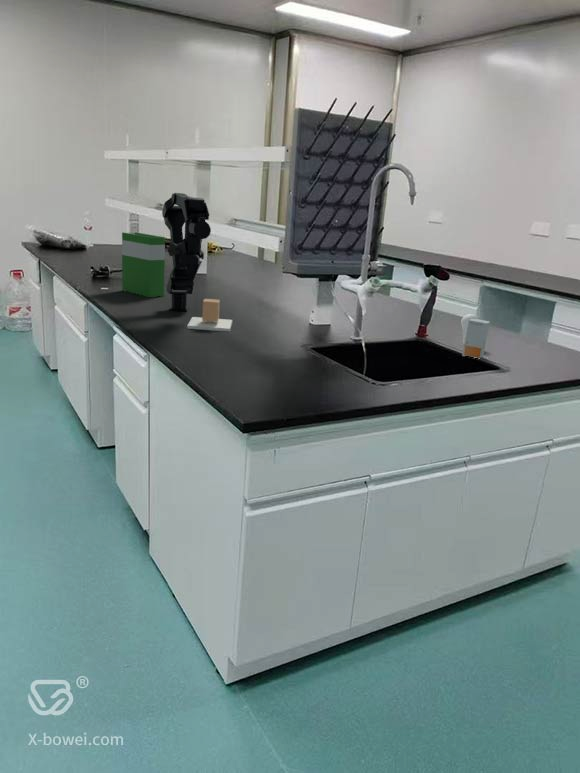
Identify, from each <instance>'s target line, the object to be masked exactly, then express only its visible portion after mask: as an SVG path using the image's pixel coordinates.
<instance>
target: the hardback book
mask: <svg viewBox="0 0 580 773" xmlns="http://www.w3.org/2000/svg"><path fill="white" fill-rule="evenodd" d="M121 248H122V249H121V256H122V258H121V262H122V263H121V266H122V267H121V268H122V270H121V273H122V274H121V278H122V279H121V280H122V281H121V282H122V283H121V285H122V286H121V291H122V290H125V291H124V292H126V291H129V292H132V293H131V294H133V293H136V294H135V295H137V294H139V295H138V296H141V295H143V296H142V297H145V296H146V297H145V298H149V297H152V298H158V297H157V296H161V297H164V296H165V260H166V259H165V255H166V254H165V252H166V251H165V249H166V237H165V236H161V235H155V234H154V235H153V234H149V233H147V234H146V233H142V232H137V231H136V232H134V233H129V232H121ZM129 292H128V293H129Z"/></svg>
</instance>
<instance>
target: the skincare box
mask: <svg viewBox="0 0 580 773" xmlns="http://www.w3.org/2000/svg"><path fill="white" fill-rule="evenodd" d="M478 319H479V318H478ZM478 319H470V320H469V323H468V328H467V333H466V338H465V343H463V348H462V349H463V350H462V354H461V356H462V357H465V356H472V357H477V358H481V357H482V358H484V354H485V350H486V348H485V347H486V344H487V337H488V334H489V328H490V324H491V321H489V320H484V319H479V320H478ZM482 358H481V359H482Z"/></svg>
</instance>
